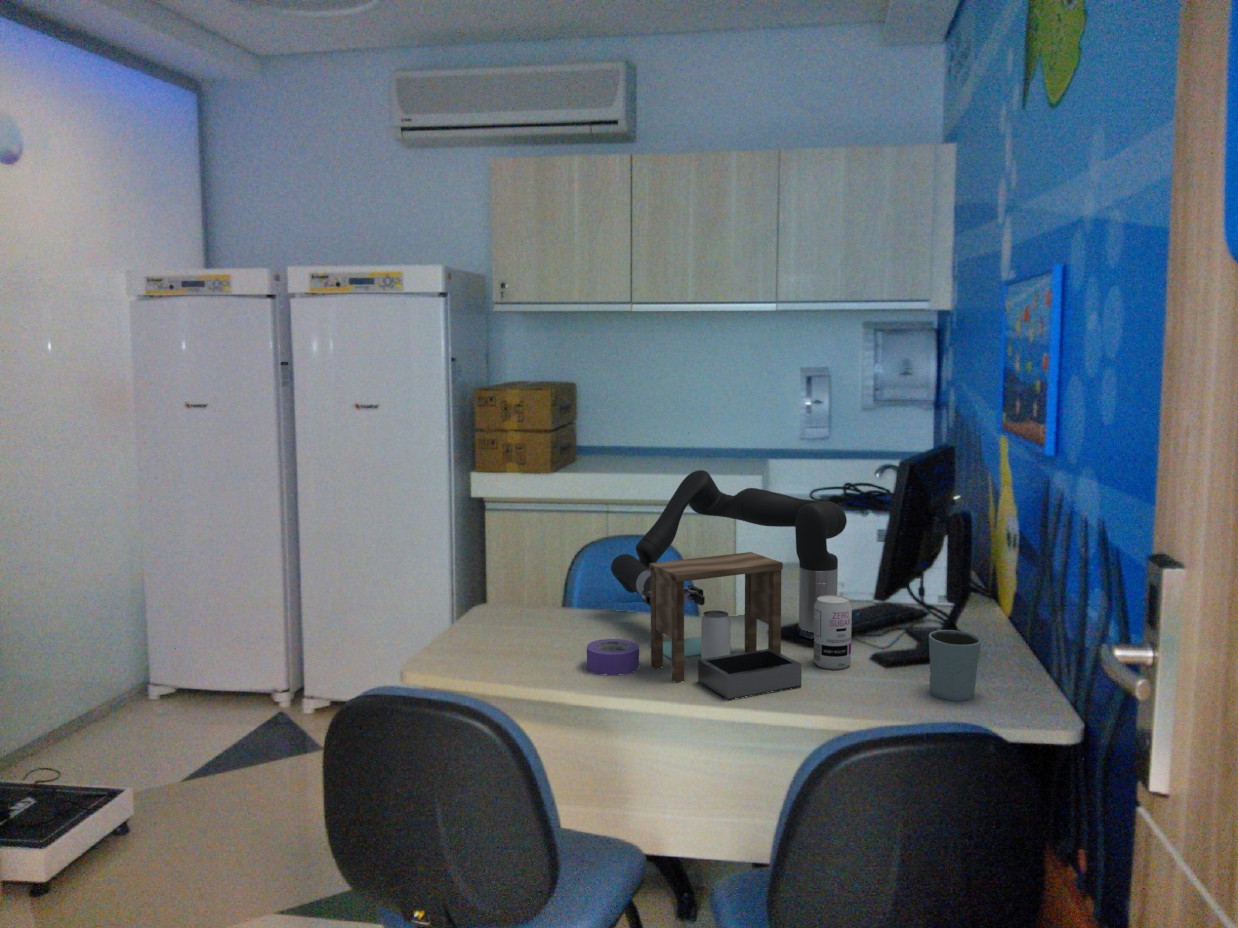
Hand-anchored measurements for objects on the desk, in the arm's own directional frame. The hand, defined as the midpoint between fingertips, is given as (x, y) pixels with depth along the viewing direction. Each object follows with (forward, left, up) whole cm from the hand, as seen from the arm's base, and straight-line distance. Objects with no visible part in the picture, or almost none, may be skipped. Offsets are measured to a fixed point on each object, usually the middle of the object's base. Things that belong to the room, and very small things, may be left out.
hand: (686, 603), depth 229 cm
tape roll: (+18, +9, -12) cm, 24 cm away
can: (-5, +11, -12) cm, 17 cm away
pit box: (-10, +25, -12) cm, 29 cm away
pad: (0, -2, -12) cm, 12 cm away
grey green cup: (-50, +34, -12) cm, 62 cm away
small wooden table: (-5, +11, -12) cm, 17 cm away
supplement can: (-31, +13, -12) cm, 36 cm away
